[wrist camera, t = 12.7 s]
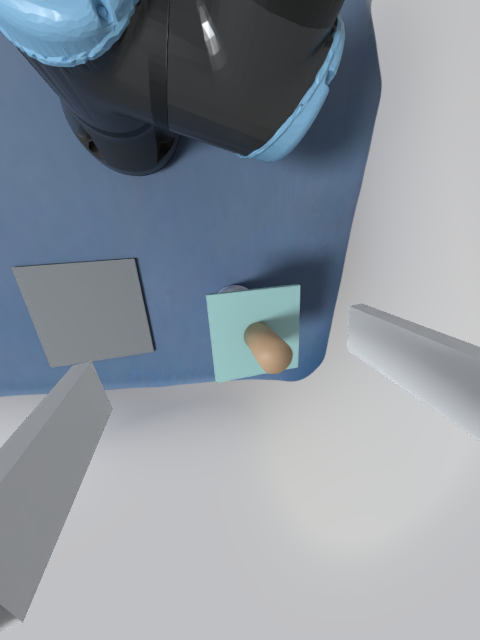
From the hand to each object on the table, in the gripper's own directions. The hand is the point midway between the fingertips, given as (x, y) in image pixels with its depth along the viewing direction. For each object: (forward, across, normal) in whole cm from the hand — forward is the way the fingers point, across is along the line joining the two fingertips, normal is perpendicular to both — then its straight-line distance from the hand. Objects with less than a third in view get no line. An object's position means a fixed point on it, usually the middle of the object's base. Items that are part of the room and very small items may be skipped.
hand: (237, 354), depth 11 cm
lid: (+18, +6, -8) cm, 21 cm away
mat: (+33, -20, -5) cm, 39 cm away
